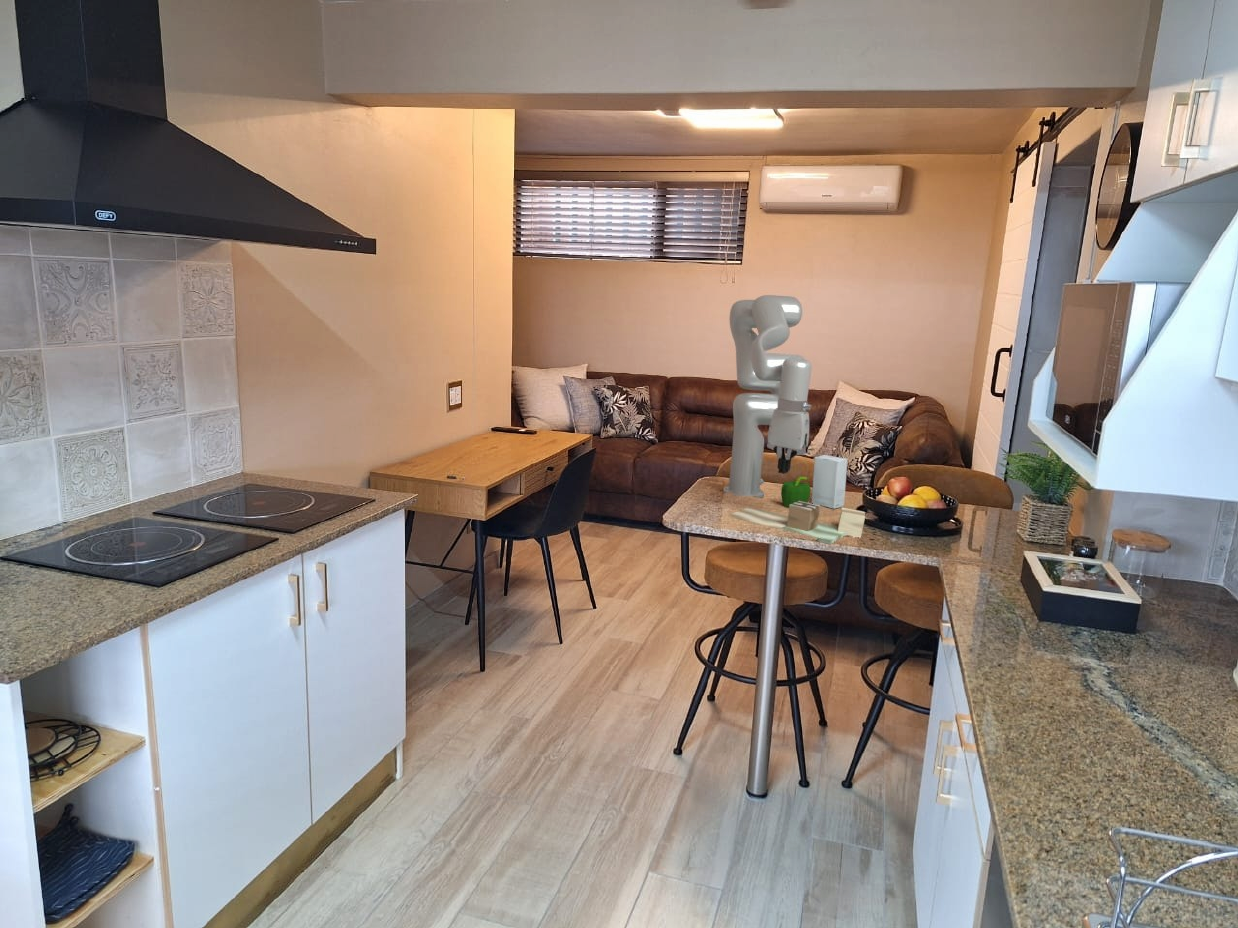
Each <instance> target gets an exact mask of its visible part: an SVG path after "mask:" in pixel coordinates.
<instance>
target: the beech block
mask: <svg viewBox="0 0 1238 928" xmlns="http://www.w3.org/2000/svg"><path fill="white" fill-rule="evenodd" d="M865 519H866V512H865V511H861V510H857V509H852V508H846V507H841V510H840V514H839V519H838V524H837V525H838V526H837V527H838V531H839V532H845V536H844V537H849V536H853V537H852V538H855V537H859V538H858V539H861V538H862V533H863V529H864V525H865Z"/></svg>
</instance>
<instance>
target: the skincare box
mask: <svg viewBox="0 0 1238 928" xmlns="http://www.w3.org/2000/svg"><path fill="white" fill-rule="evenodd" d="M847 467H848V458H845V457H838V456H833V455H827V454H823V455H819V456H815V457H814V466H813V479H812V491H811V492H812V493H811V504H812V503H813V504H815V505H820V507H825V508H829V509H839V508H844V506H845V498H846V486H847V485H846V484H847V471H848V468H847Z"/></svg>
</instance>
